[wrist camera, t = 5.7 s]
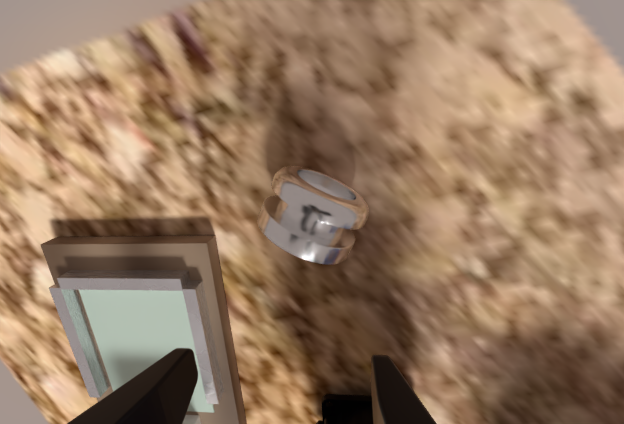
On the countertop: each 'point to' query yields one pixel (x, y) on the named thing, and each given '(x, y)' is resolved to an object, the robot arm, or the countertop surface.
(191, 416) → the block
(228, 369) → the rail board
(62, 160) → the countertop surface
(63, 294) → the rail guides
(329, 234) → the metal grooved wheel
